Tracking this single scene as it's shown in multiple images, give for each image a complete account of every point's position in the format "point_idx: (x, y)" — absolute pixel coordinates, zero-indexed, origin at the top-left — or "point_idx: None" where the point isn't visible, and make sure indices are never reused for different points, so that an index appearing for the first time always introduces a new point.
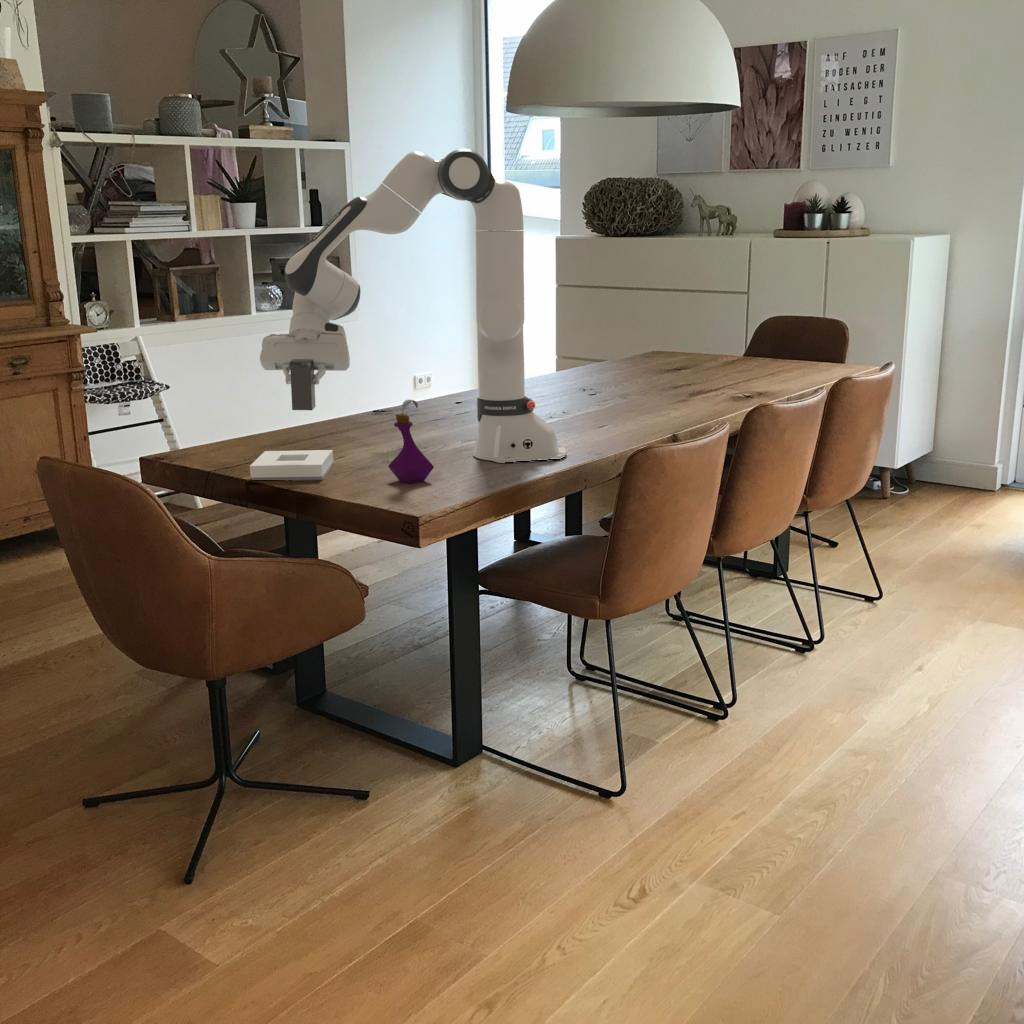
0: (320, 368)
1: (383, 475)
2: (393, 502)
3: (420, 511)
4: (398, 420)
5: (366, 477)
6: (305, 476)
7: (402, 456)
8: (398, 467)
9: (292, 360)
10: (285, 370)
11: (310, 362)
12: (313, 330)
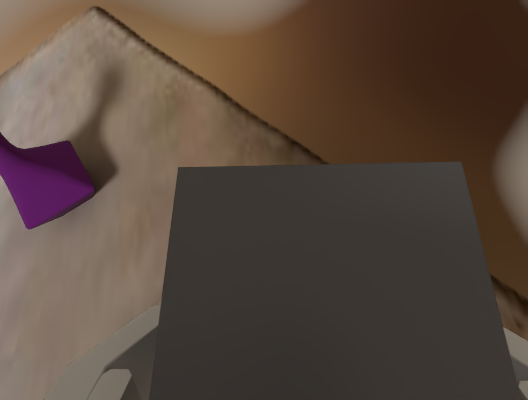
0: (111, 357)
1: (118, 241)
2: (117, 65)
3: (87, 27)
4: None
5: (153, 225)
6: None
7: (49, 157)
8: (75, 158)
9: (473, 274)
10: (508, 342)
11: (181, 189)
12: None
